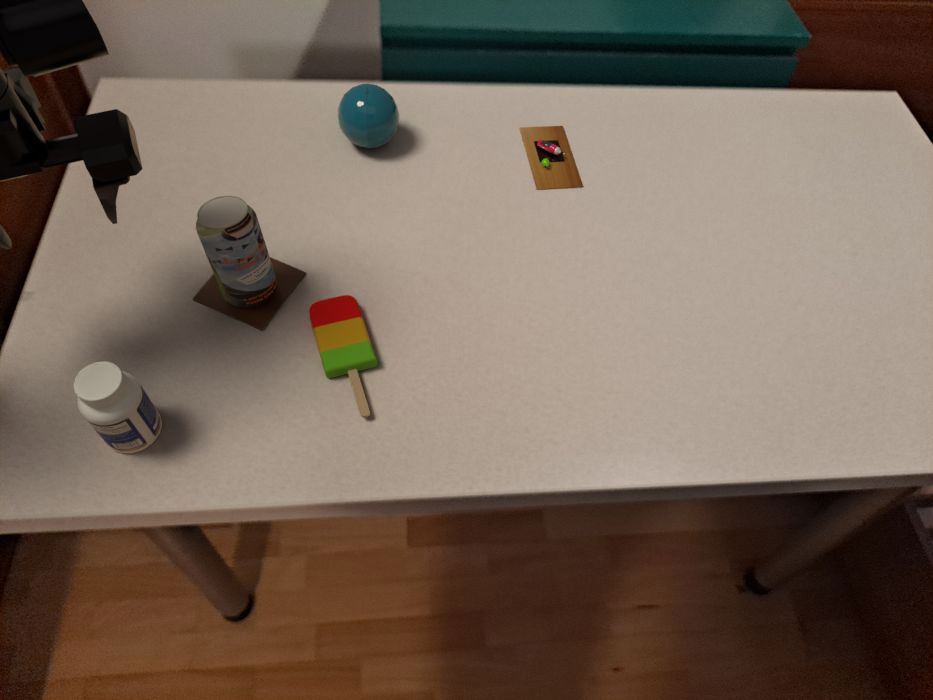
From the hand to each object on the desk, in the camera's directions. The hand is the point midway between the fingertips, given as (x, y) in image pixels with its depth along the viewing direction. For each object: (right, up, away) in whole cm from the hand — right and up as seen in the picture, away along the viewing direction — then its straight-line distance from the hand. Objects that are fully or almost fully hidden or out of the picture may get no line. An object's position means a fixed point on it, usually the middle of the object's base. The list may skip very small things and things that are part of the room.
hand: (63, 232), depth 64 cm
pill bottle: (+5, -19, +4) cm, 20 cm away
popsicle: (+25, -12, +10) cm, 29 cm away
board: (+49, +15, +30) cm, 59 cm away
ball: (+24, +17, +29) cm, 42 cm away
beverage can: (+13, -4, +14) cm, 19 cm away
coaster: (+13, -4, +14) cm, 20 cm away
